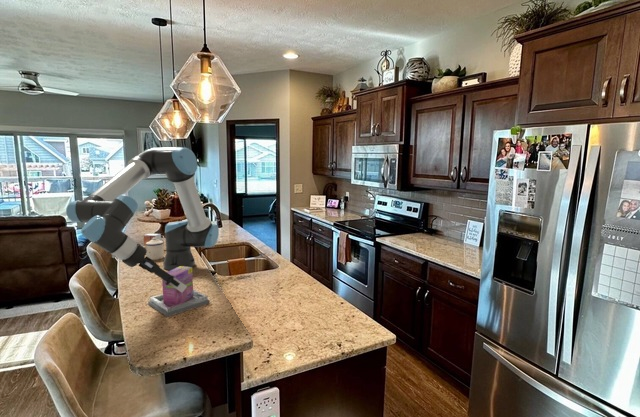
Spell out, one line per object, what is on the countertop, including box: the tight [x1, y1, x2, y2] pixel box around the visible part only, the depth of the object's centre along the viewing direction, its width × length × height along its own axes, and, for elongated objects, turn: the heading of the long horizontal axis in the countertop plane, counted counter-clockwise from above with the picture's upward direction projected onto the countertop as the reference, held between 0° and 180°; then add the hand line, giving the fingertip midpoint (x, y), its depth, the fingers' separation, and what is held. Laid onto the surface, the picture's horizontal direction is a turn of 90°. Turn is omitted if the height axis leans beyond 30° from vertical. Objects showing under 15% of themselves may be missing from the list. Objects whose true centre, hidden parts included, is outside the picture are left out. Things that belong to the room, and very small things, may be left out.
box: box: [161, 266, 194, 306], centre depth 127 cm, size 10×6×12 cm, turn 166°
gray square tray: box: [147, 295, 211, 318], centre depth 128 cm, size 16×16×1 cm
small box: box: [143, 233, 162, 250], centre depth 209 cm, size 8×6×10 cm
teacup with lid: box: [142, 238, 165, 261], centre depth 192 cm, size 12×9×12 cm
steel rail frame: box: [149, 289, 209, 313], centre depth 128 cm, size 15×15×2 cm
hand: (177, 284), depth 127 cm, fingers open, 13 cm apart
